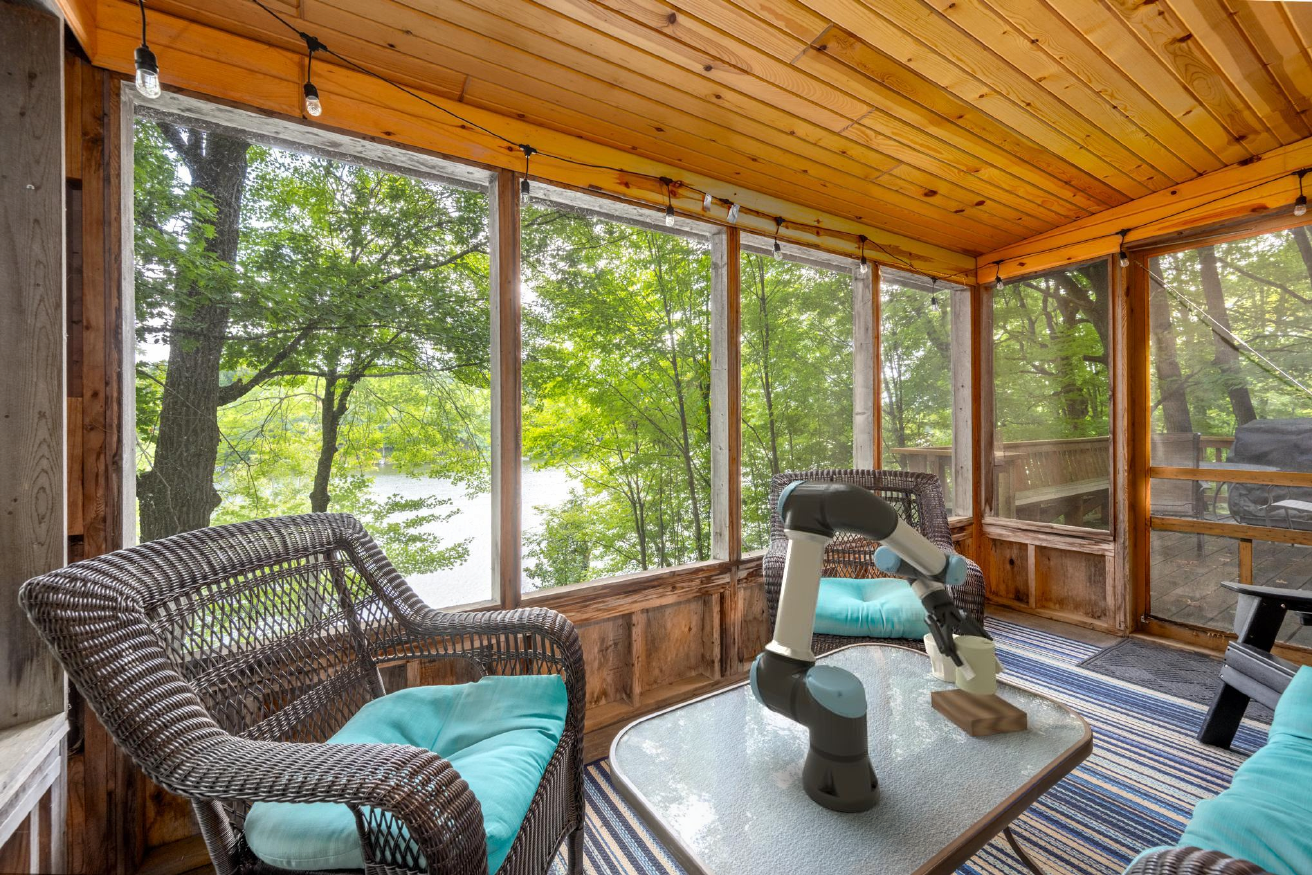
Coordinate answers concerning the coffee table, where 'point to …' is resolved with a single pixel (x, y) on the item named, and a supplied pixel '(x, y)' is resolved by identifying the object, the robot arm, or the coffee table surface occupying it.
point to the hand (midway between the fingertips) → (986, 674)
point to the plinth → (979, 712)
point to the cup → (940, 661)
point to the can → (977, 665)
